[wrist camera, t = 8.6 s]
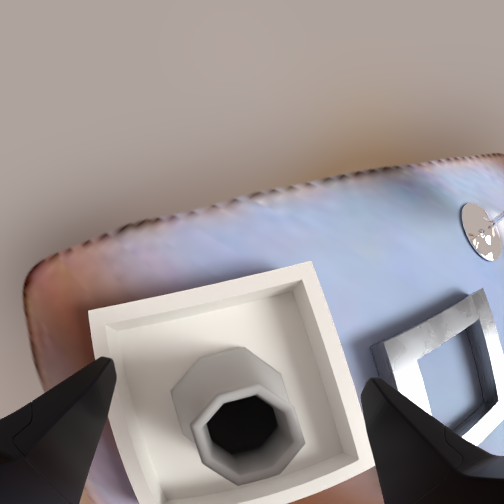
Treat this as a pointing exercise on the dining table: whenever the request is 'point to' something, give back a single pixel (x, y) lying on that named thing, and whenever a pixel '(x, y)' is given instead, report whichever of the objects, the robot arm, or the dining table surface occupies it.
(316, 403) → the tray
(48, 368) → the dining table surface
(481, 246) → the wineglass
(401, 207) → the dining table surface
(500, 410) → the holder
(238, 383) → the flask
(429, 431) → the robot arm
